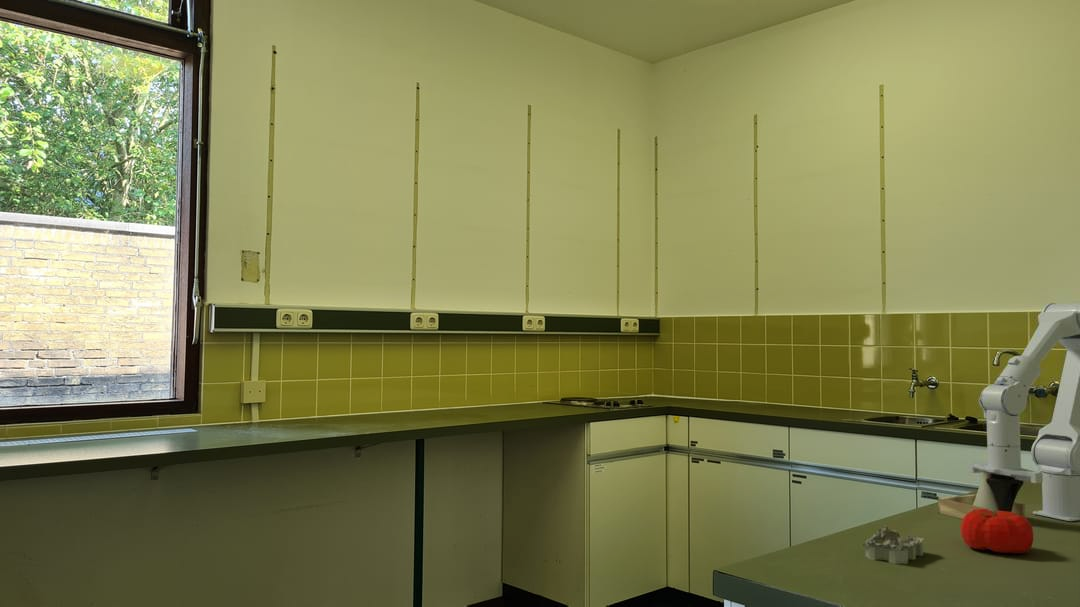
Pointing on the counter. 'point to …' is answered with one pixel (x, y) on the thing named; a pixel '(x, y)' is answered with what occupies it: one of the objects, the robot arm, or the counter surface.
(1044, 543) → the counter surface
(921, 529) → the counter surface
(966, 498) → the oak frame
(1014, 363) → the robot arm
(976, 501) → the flask
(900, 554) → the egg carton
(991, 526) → the tomato
